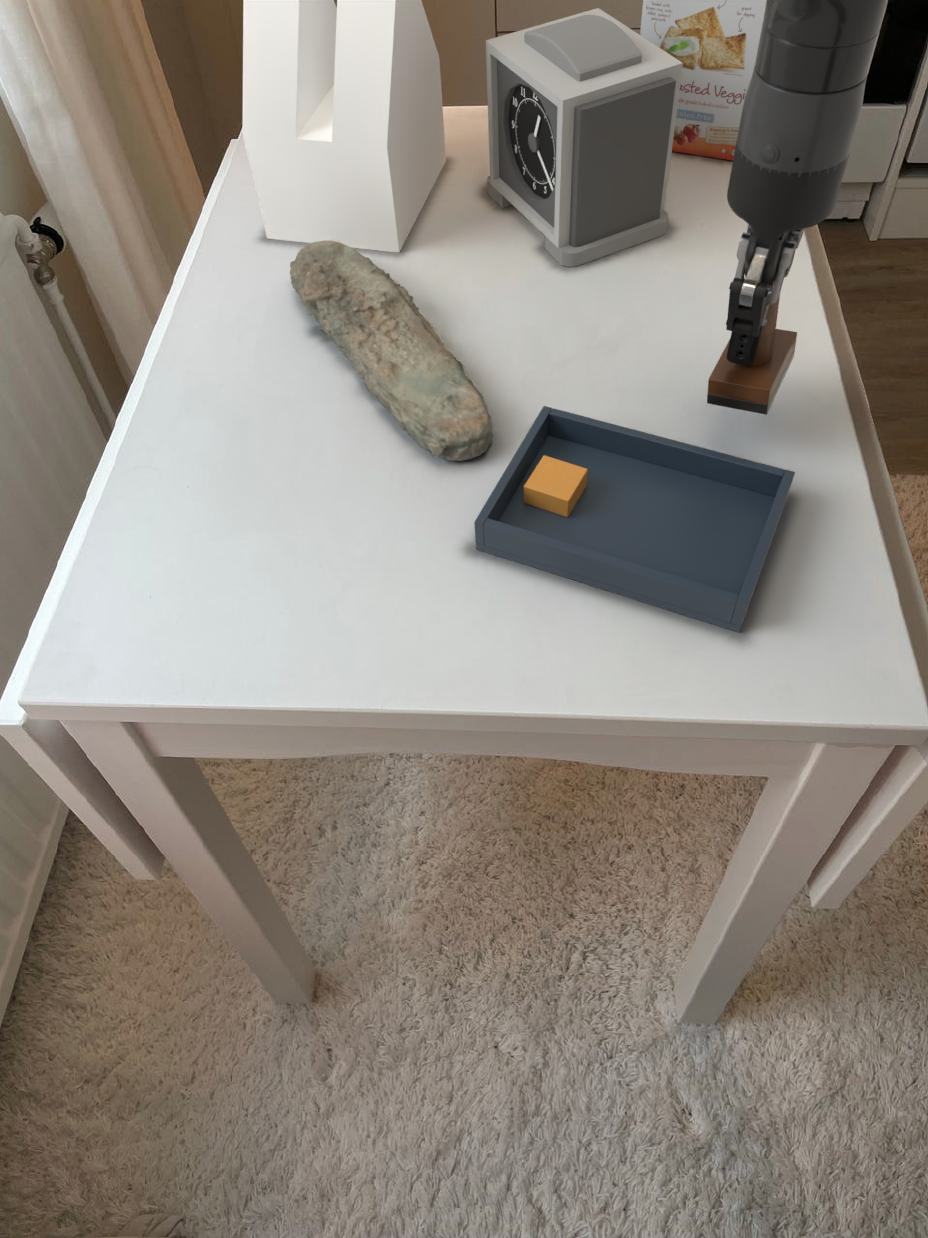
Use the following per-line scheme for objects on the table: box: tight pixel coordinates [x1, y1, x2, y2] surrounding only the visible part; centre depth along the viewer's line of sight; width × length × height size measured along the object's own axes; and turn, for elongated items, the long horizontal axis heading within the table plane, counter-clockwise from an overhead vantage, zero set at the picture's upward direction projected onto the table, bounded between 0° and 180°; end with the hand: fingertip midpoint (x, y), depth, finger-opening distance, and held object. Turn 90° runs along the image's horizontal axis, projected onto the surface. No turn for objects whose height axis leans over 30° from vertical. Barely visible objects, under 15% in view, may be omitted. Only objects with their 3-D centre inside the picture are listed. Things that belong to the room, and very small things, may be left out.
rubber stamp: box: [706, 282, 798, 415], centre depth 77 cm, size 5×8×8 cm, turn 153°
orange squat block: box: [524, 455, 588, 517], centre depth 79 cm, size 4×4×2 cm
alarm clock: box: [485, 7, 683, 268], centre depth 99 cm, size 18×13×18 cm
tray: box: [473, 405, 796, 633], centre depth 77 cm, size 22×15×3 cm
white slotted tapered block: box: [241, 0, 447, 254], centre depth 100 cm, size 19×15×25 cm
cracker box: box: [639, 0, 766, 162], centre depth 105 cm, size 14×6×21 cm, turn 68°
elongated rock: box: [289, 240, 494, 462], centre depth 91 cm, size 35×5×10 cm
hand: (746, 347), depth 78 cm, fingers closed on rubber stamp, 3 cm apart
